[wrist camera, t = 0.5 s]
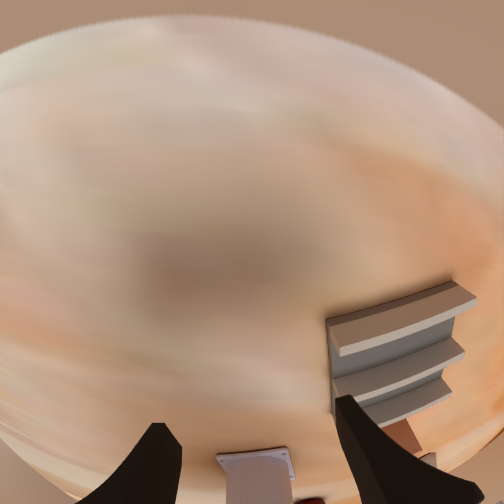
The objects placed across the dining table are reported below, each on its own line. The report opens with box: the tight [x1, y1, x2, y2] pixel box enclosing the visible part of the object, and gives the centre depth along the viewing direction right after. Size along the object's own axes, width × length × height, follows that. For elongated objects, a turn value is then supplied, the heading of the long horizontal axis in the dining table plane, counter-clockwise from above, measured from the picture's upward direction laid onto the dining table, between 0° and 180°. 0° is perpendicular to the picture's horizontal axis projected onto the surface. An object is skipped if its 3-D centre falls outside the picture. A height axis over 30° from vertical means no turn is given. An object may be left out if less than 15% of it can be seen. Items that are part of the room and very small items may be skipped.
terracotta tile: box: [381, 418, 422, 458], centre depth 21 cm, size 8×3×7 cm, turn 12°
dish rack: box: [326, 281, 477, 428], centre depth 19 cm, size 12×12×4 cm
